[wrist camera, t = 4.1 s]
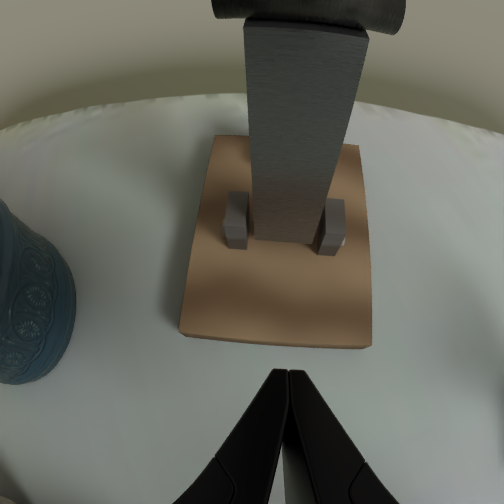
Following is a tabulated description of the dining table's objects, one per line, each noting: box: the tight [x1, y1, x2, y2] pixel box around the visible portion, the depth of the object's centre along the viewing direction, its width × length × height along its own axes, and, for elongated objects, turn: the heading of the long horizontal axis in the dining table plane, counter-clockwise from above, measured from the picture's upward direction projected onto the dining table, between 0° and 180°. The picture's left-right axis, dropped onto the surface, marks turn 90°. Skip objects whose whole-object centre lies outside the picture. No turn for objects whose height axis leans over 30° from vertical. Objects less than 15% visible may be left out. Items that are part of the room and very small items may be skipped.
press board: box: [179, 135, 372, 349], centre depth 20 cm, size 16×12×7 cm
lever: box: [211, 0, 406, 244], centre depth 13 cm, size 2×5×16 cm, turn 85°
